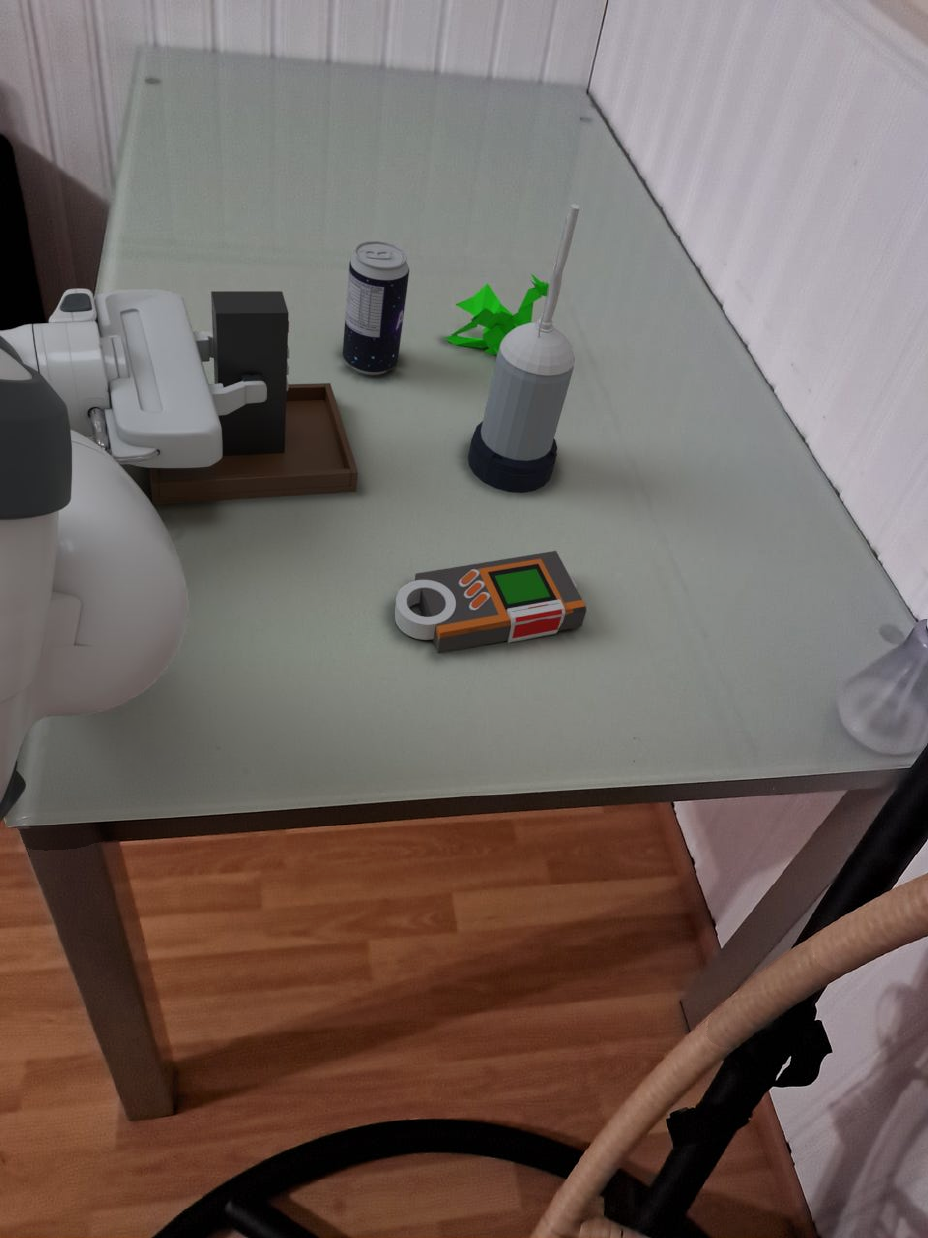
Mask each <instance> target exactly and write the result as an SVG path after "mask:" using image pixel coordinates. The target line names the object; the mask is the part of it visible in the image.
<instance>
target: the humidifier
mask: <svg viewBox="0 0 928 1238" xmlns="http://www.w3.org/2000/svg"><path fill="white" fill-rule="evenodd" d="M580 207H581V206H580V205H578V204H577V203H572V204H571V205H570V207H569V210H568V215H567V217H565V221H564V225H563V230H562V232H561V233H562V234H561V237H560V242H559V244H558V245H559V246H558V250H557V254H556V257H555V261H554V263H553V267H552V270H551V275H550V280H549V283H548V284H549V287H548V292H547V296H545V302H544V307H543V309H542V312H541V315H540V317H539V318H538V320H537V321H533V322H532V321H531V322H530V323H527V324H524V325H521V326H518V327H516V328H515V329H513V330H512V331H510V332H509V333H508V334H507V335H506V336H505V337H504V339H503V340H502V342H501V344H500V348H499V351H498V353H497V354H496V358H495V363H494V367H493V372H492V375H491V381H490V385H489V389H488V390H489V391H488V396H487V401H486V404H485V410H484V415H483V418H482V421H481V422H479V424H477V425H476V427H475V430H474V432H473V434H472V437H471V440H470V445H469V449H468V454H467V462H468V467H469V468H470V470H471V471H472V473H473V475H474V476H475V477H477V479H479V480H480V481H481V482H482V483H484V484H486V485H488V486H489V487H491V488H493V489H496V490H500V491H504V492H506V493H515V494H517V493H518V494H523V493H531V492H535V491H537V490H539V489H542V488H543V487H545V486H546V484H548V482H549V481H550V480H551V477H552V475H553V469H554V467H555V466H554V465H555V463H556V460H557V457H558V453H557V451H558V444H557V440H556V438H555V436H556V434H557V433H556V432H557V428H558V426H559V422H560V418H561V415H562V411H563V408H564V404H565V400H566V397H567V393H568V390H569V387H570V384H571V380H572V376H573V372H574V369H575V361H576V357H575V352H574V349H573V346H572V344H571V342H570V341H569V339H568V338H567V336H566V335H565V334H564V333H563V332H562V331H561V330H560V329H559V328H557V327H556V326H554V325H553V321H552V320H553V317H554V313H555V310H556V307H557V303H558V301H559V297H560V292H561V289H562V288H561V287H562V279H563V272H564V269H565V266H566V263H567V260H568V256H569V253H570V249H571V245H572V241H573V236H574V233H575V228H576V225H577V222H578V217H579V214H580V213H579V212H580V209H581V208H580Z"/></svg>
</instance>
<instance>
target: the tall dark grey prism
mask: <svg viewBox="0 0 928 1238" xmlns="http://www.w3.org/2000/svg"><path fill="white" fill-rule="evenodd" d="M210 300H211V303H210V304H211V326H212V328H211V329H212V333H213V355H214V358H213V377H214V384H219V383H221V384H223V387H224V388H225V387H227V386H230V385H233V384H235V383H238V382H241V381H242V375H255V374H260V375H262V377H263V379H264V382H265V384H266V387H267V399H266V400H265V401H264V402H260V403H247V404H245V405H244V406H242V407H240V408H238V409H236V410H235V411H233V412H231V413H229V414H227V415H219V416H218V417H219V421H220V424H221V429H222V443H223V455H222V456H234V455H253V454H273V453H285V426H286V391H288V384H289V380H288V376H289V374H290V366H289V362H288V359H290V348H289V333H290V320H289V317H290V313H289V309H288V306H287V302H286V299H285V296H284V293H283V291H279V290H277V291H273V290H271V291H270V290H268V291H267V290H265V291H263V290H261V291H260V290H258V291H257V290H253V291H251V290H249V291H248V290H247V291H241V290H239V291H238V290H237V291H235V290H230V291H229V290H227V291H226V290H225V291H224V290H220V291H218V290H217V291H214V290H212V291H210Z"/></svg>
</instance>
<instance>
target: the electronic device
mask: <svg viewBox="0 0 928 1238" xmlns="http://www.w3.org/2000/svg"><path fill="white" fill-rule="evenodd" d="M417 604H418V607H419V609H420V612H421V615H422V616H421V615H419V614H417V613H414V612H413V611H412V610H411V609H410V608H411V607H412V606H414V605H417ZM586 614H587V606H586V604H585V602H584V600H583V598H582V597H581V595H580V592H579V591H578V585H577V583H576V582H575V580H574V578H573V577H572V575H570V574H569V572H568V570H567V568H566V567H565V565H564V563H563V561H562V559H561V557H560V556H559V554H558V551H557V550H552V551H546V552H540V553H539V552H538V553H533V554H528V555H527V554H526V555H521V556H515V557H509V558H502V559H497V560H491V561H485V562H479V563H472V564H467V565H460V566H459V565H458V566H454V567H449V568H442V569H436V570H429V571H424V572H417V573H415V574H414V580H412V581H410V582H408V583H405V584H404V585H403V586H402V587H401V588H400V589H399V590H398V592H397V594H396V597H395V607H394V621H395V623H396V626H397V628H398V629H399V630H400V631H401V632H403V633H404V634H405V635H406V636H409V637H411V638H414V639H416V640H421V641H422V640H424V641H427V640H431V641H432V643H433V644H434V647H435V649H436V652H437V654H443V653H448V652H454V651H460V650H465V649H470V648H474V647H475V648H476V647H480V646H486V645H491V644H496V643H502V642H507V644H511V643H514V642H521V641H525V640H530V639H534V638H535V639H536V638H539V637H544V636H551V635H556V634H557V633H558V632H560V631H564V630H570V629H575V628H579V627H582V626H583V623H584V620H585V616H586Z"/></svg>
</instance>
